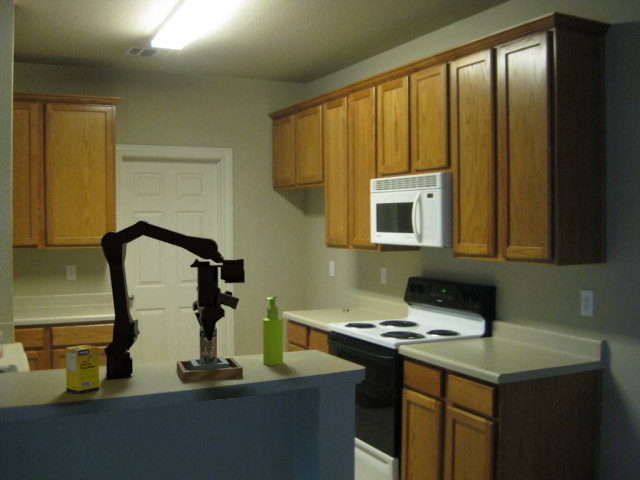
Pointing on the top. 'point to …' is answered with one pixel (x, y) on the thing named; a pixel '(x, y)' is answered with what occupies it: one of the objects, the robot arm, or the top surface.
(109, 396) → the top surface
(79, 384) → the supplement box
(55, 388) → the top surface
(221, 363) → the bore plate
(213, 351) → the beer can
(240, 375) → the walnut box
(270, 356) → the soap dispenser
